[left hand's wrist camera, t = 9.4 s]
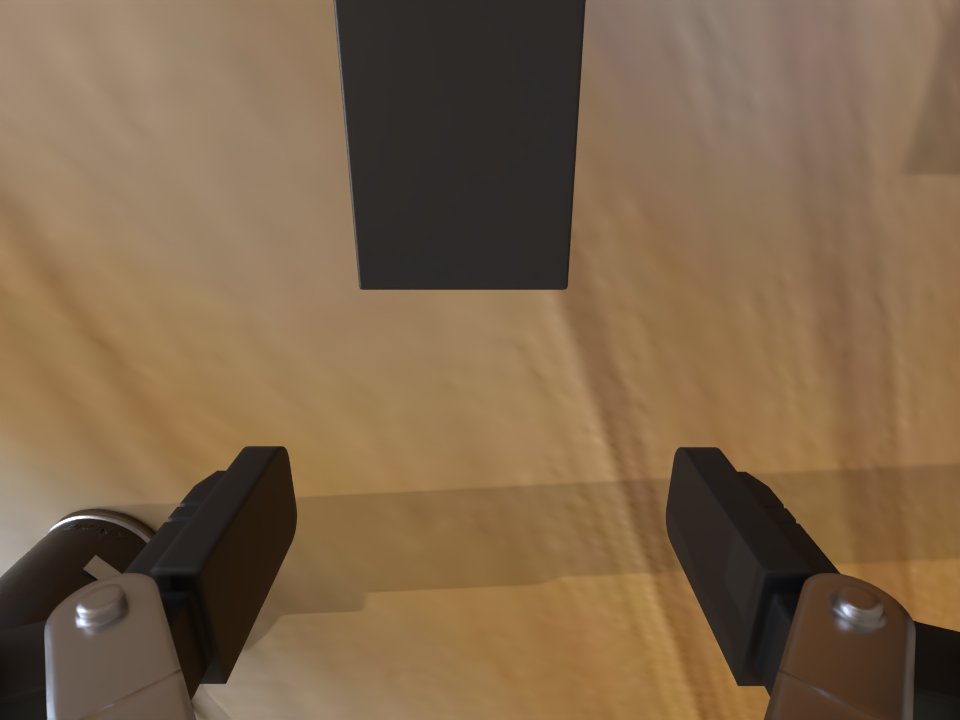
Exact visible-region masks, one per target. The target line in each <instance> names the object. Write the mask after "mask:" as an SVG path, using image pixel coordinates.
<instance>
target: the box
mask: <svg viewBox="0 0 960 720" xmlns="http://www.w3.org/2000/svg"><path fill="white" fill-rule="evenodd" d="M585 1H586V0H334V10H335V21H336V32H337V43H338V54H339V66H340V77H341V88H342V99H343V110H344V122H345V133H346V144H347V155H348V166H349V178H350V189H351V200H352V211H353V223H354V234H355V245H356V256H357V267H358V279H359V287H360V289H362V290H564V289H567V287H568V272H569V256H570V240H571V224H572V208H573V192H574V176H575V161H576V145H577V129H578V113H579V97H580V81H581V65H582V49H583V33H584V17H585Z"/></svg>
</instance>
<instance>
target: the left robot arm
mask: <svg viewBox="0 0 960 720" xmlns="http://www.w3.org/2000/svg"><path fill="white" fill-rule="evenodd" d="M296 523H297V508H296V501H295V495H294V488H293V481H292V475H291V468H290V461H289V456H288V452H287V450H286V448H285V447H283V446H247V447H245V448H244V449H243V450H242V451H241V452H240V453H239V455H238V456H237V457H236V459H235V460H234V461H233V463H232V464H231V465H230V467H229V468H228V469H227V470H226V471H216V472H215V473H213V474H212V475H210V476H209V477H207V478H206V479H204V480H203V481H201V482H200V483H198V484H197V485H195V486H194V487H193V489H192V490H191V491H190V492H189V493H188V495H187V496H186V497H185V498H184V500H183V501H182V502H181V503H180V507H177V508H176V509H175V511H174V512H173V513H172V514H171V515H170V517H169V518H168V522H165V523H164V524H163V525H162V526H161V528H160V529H159V530H158V531H157V533H156V534H154V533H153V532H152V531H151V530H150V529H149V528H147V527H146V526H145V525H143V524H142V523H140V522H138V521H137V520H135V519H133V518H131V517H128V516H126V515H123V514H120V513H117V512H113V511H108V510H101V509H88V510H81V511H77V512H74V513H71V514H69V515H67V516H65V517H64V518H62V519H61V520H60V521H59V522H58V523H56V524H55V525H54V526H53V527H52V528H51V529H50V530H49V531H48V532H47V533H46V535H45V536H44V538H43V539H42V540H40V541H39V542H38V543H37V544H36V545H35V546H34V547H33V548H32V549H31V550H30V551H29V552H27V553H26V554H25V555H24V556H23V557H22V558H21V559H20V560H19V561H17V562H16V563H15V564H14V565H13V566H12V567H11V568H10V569H9V570H8V571H7V572H6V573H5V574H4V575H2V576H1V577H0V720H196V718H195V714H194V711H193V707H192V704H191V700H192V698H193V696H194V694H195V692H196V690H197V688H198V686H199V685H200V684H226V683H227V681H228V678H229V676H230V674H231V672H232V670H233V668H234V666H235V663H236V661H237V659H238V657H239V655H240V653H241V650H242V648H243V646H244V644H245V642H246V640H247V638H248V635H249V633H250V631H251V629H252V627H253V625H254V622H255V620H256V618H257V616H258V614H259V612H260V610H261V607H262V605H263V603H264V601H265V599H266V597H267V595H268V592H269V590H270V588H271V586H272V584H273V582H274V579H275V577H276V575H277V573H278V571H279V569H280V567H281V564H282V562H283V560H284V558H285V556H286V554H287V552H288V549H289V547H290V545H291V543H292V541H293V538H294V535H295V530H296ZM666 526H667V532H668V536H669V540H670V542H671V544H672V547H673V549H674V551H675V553H676V555H677V557H678V559H679V561H680V564H681V566H682V568H683V570H684V572H685V574H686V576H687V578H688V580H689V583H690V585H691V587H692V589H693V591H694V593H695V595H696V597H697V600H698V602H699V604H700V606H701V608H702V610H703V612H704V614H705V617H706V619H707V621H708V623H709V625H710V627H711V629H712V631H713V634H714V636H715V638H716V640H717V642H718V644H719V646H720V648H721V651H722V653H723V655H724V657H725V659H726V661H727V663H728V665H729V668H730V670H731V672H732V674H733V676H734V678H735V680H736V682H737V685H738V686H765V688H766V690H767V692H768V694H769V696H770V701H769V704H768V707H767V711H766V714H765V718H764V720H960V632H958V631H953V630H949V629H945V628H940V627H936V626H932V625H928V624H923V623H919V622H916V621H913V620H912V618H911V616H910V615H909V613H908V612H907V611H906V610H905V608H904V607H903V606H902V605H901V604H900V603H899V602H898V601H896V600H895V599H894V598H893V597H891V596H890V595H889V594H887V593H886V592H884V591H883V590H881V589H880V588H878V587H876V586H874V585H872V584H870V583H868V582H865V581H863V580H861V579H858V578H855V577H851V576H847V575H843V574H840V573H839V571H838V570H837V569H836V568H835V566H834V565H833V564H832V563H831V562H830V560H829V559H828V558H827V557H826V556H825V554H824V553H823V552H822V551H821V550H820V548H819V547H818V546H817V545H816V544H815V542H814V541H813V540H812V539H811V537H810V536H809V535H808V534H807V533H806V531H805V530H804V529H803V528H802V527H801V525H800V524H796V519H795V518H794V517H793V516H792V514H791V513H790V512H789V511H788V510H787V508H784V507H783V504H782V502H781V501H780V500H779V499H778V498H777V496H776V495H775V494H774V493H773V491H772V490H771V489H770V488H769V487H768V486H767V485H765V484H764V483H762V482H761V481H759V480H757V479H756V478H754V477H753V476H751V475H750V474H748V473H747V472H737V471H736V470H735V468H734V467H733V466H732V464H731V463H730V462H729V461H728V459H727V458H726V457H725V455H724V454H723V453H722V451H721V450H720V449H718V448H716V447H680V448H678V449H677V451H676V453H675V456H674V462H673V468H672V475H671V481H670V488H669V495H668V501H667V508H666Z"/></svg>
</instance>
